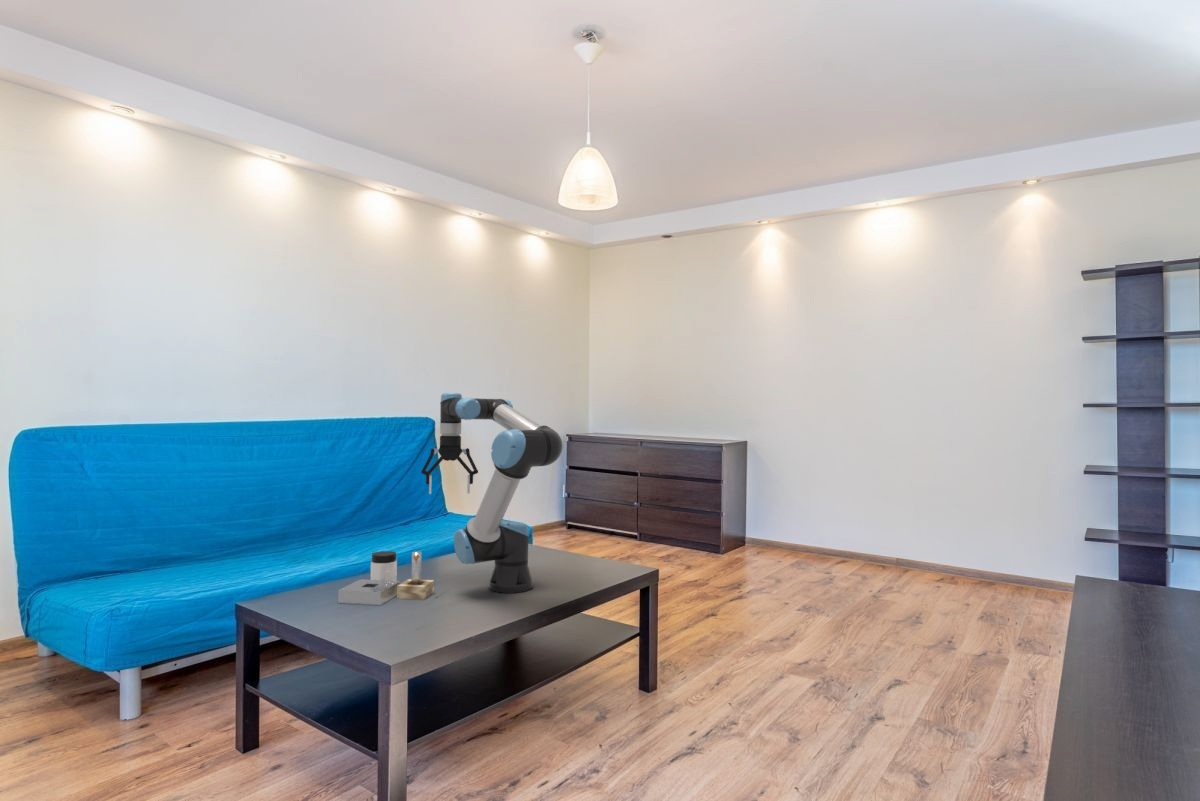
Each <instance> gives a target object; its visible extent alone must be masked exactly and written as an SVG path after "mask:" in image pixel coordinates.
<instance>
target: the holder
mask: <svg viewBox="0 0 1200 801" xmlns="http://www.w3.org/2000/svg"><path fill="white" fill-rule="evenodd" d="M411 580H412V578H408V579H406V580H404V581H403V582H400V584H399V585H397V596H396V598H397V599H402V600H418V601H419V600H426V599H427V598H428V597H430V596H431V595H432V594H434V593H435V580H434V579H421V585H411Z"/></svg>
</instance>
